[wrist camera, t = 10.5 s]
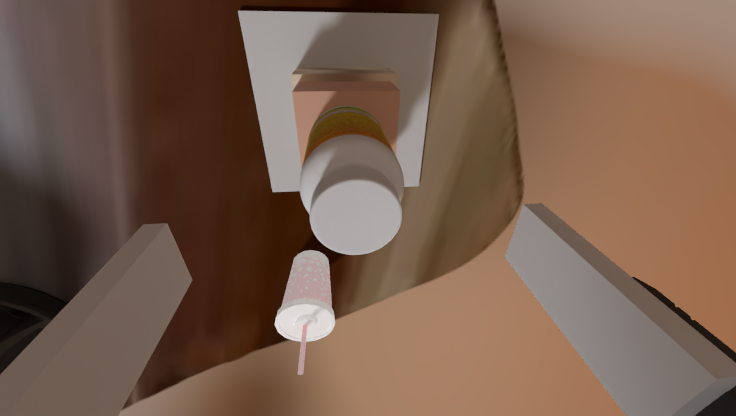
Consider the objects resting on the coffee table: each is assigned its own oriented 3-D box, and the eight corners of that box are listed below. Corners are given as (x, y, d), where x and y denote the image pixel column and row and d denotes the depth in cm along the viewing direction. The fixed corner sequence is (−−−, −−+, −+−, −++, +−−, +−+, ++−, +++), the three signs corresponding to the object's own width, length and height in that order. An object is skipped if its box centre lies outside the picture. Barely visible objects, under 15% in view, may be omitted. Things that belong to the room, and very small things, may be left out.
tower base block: (306, 155, 29) (303, 172, 25) (296, 67, 25) (291, 74, 21) (384, 153, 30) (391, 169, 26) (388, 67, 25) (397, 74, 22)
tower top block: (307, 167, 25) (303, 188, 22) (298, 81, 22) (292, 91, 18) (386, 164, 26) (393, 185, 22) (390, 81, 22) (400, 90, 19)
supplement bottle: (293, 127, 19) (263, 200, 11) (363, 88, 18) (388, 137, 10) (333, 188, 22) (333, 283, 14) (396, 157, 21) (435, 238, 13)
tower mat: (273, 190, 31) (272, 192, 31) (239, 11, 22) (237, 10, 22) (417, 184, 32) (418, 186, 32) (437, 14, 24) (439, 14, 24)
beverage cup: (286, 244, 35) (261, 354, 23) (336, 245, 36) (337, 352, 24) (287, 280, 38) (266, 392, 26) (333, 280, 39) (333, 389, 27)
